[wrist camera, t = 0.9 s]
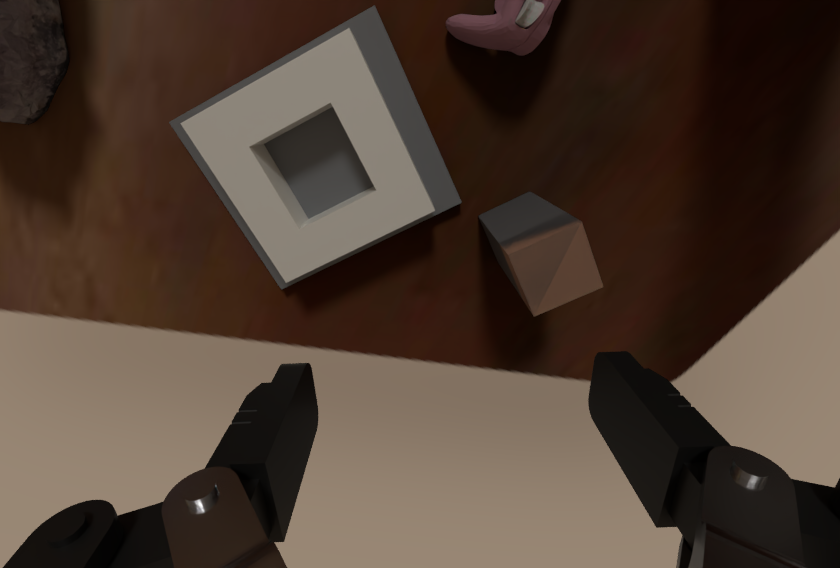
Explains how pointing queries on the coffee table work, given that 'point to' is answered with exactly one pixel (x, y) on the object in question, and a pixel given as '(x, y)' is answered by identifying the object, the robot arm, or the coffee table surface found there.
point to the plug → (541, 252)
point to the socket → (321, 151)
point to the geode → (30, 58)
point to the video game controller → (506, 25)
